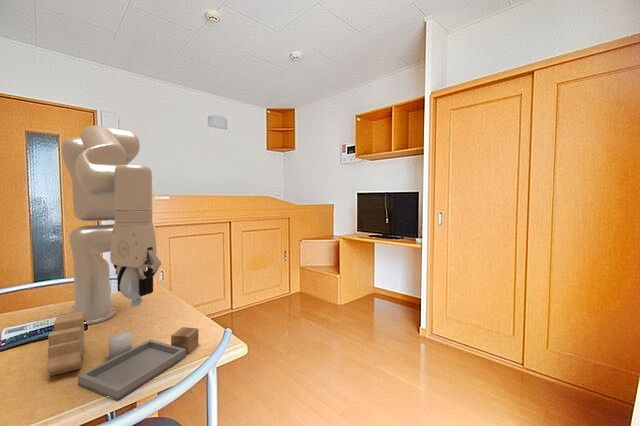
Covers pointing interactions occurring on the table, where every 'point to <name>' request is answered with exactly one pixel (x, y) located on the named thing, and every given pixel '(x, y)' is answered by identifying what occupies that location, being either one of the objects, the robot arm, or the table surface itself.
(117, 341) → the pale grey egg shape
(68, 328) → the stepped wooden block
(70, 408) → the table surface
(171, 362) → the tray
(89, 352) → the table surface
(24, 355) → the table surface
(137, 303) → the toy figure
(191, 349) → the walnut cube
